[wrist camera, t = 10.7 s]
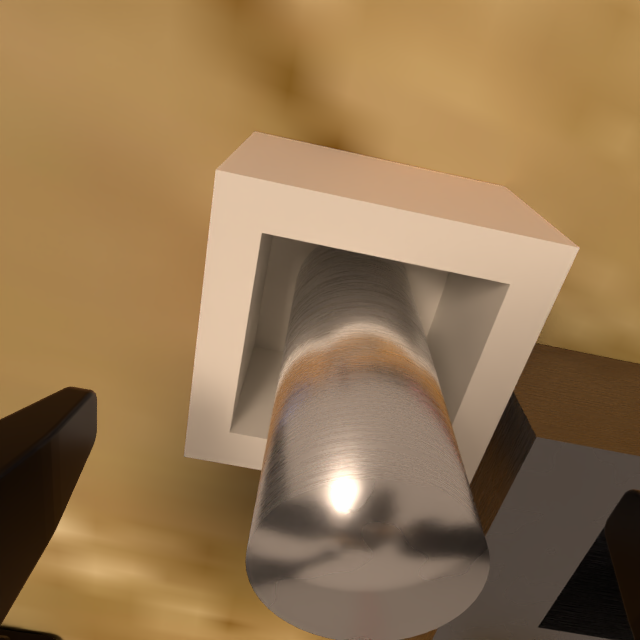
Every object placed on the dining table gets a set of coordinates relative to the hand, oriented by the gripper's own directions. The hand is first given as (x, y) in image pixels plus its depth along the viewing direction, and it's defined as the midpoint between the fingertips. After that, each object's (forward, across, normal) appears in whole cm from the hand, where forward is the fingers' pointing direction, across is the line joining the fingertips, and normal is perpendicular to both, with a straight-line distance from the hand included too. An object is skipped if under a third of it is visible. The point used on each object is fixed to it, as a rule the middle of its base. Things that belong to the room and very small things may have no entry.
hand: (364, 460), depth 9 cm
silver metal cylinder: (+7, 0, 0) cm, 7 cm away
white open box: (+8, 0, 0) cm, 8 cm away
